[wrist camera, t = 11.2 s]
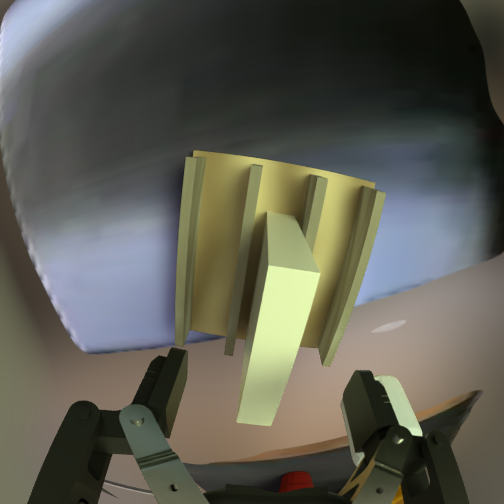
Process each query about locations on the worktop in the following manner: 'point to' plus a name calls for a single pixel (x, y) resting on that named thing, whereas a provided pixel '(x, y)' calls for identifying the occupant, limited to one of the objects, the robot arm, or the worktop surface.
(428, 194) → the worktop surface
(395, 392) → the soap bottle
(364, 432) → the robot arm
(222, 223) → the dish rack
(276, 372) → the pale green flat slab
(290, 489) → the plastic cup
